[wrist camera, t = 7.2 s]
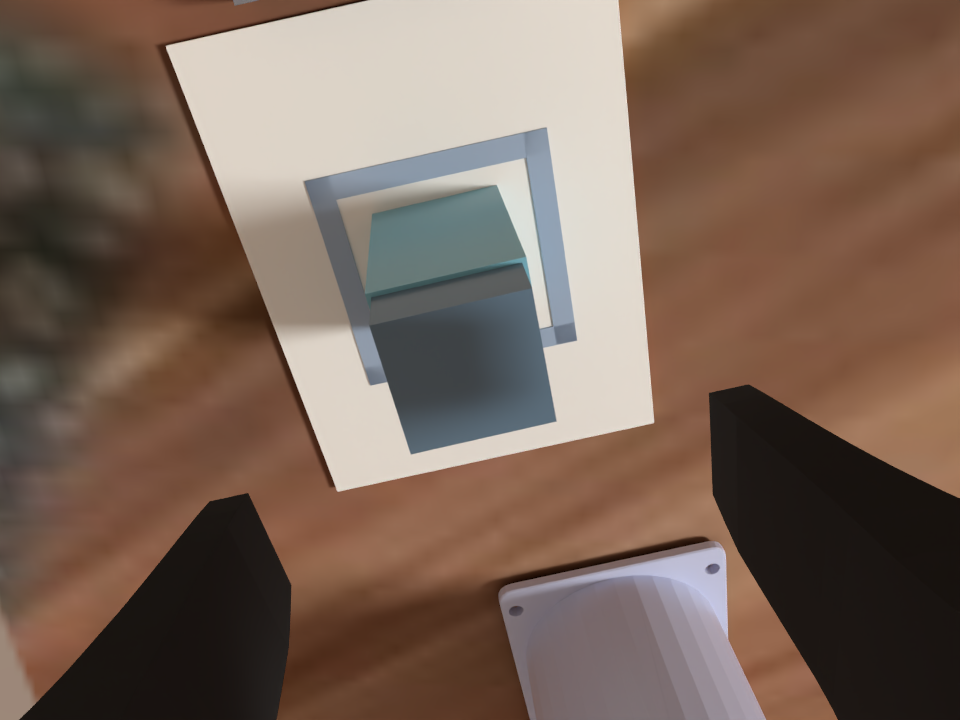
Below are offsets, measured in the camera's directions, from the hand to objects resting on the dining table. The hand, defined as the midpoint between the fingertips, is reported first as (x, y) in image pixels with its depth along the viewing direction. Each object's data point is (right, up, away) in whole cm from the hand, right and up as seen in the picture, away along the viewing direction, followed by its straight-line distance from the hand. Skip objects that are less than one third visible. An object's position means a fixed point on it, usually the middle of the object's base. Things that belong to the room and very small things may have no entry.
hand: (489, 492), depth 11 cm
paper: (-1, +5, +8) cm, 9 cm away
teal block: (-1, +5, +8) cm, 9 cm away
